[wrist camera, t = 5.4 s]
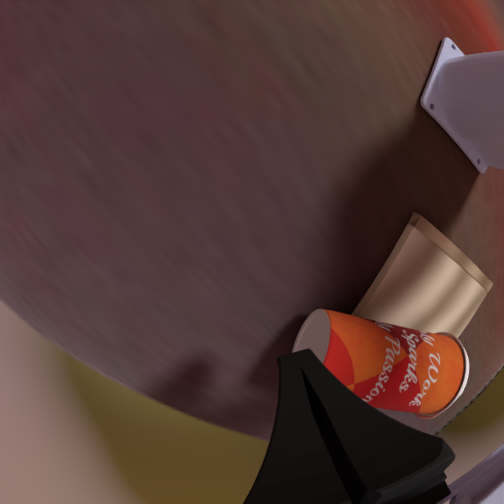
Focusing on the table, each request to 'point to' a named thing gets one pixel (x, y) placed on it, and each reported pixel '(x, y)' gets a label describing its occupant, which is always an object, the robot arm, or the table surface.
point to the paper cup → (388, 361)
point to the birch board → (425, 283)
